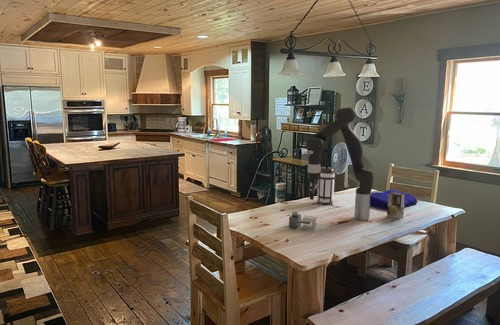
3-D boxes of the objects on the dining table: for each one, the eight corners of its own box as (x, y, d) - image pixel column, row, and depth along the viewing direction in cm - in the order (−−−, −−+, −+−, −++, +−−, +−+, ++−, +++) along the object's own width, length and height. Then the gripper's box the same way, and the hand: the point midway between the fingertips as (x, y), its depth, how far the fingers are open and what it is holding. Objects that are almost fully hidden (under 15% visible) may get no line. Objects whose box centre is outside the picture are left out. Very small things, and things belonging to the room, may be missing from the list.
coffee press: (310, 201, 288) (311, 163, 283) (327, 199, 294) (329, 162, 290) (323, 207, 273) (324, 167, 268) (341, 205, 279) (343, 165, 274)
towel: (418, 204, 286) (419, 193, 284) (392, 212, 264) (393, 200, 262) (386, 197, 306) (387, 186, 305) (360, 204, 284) (361, 193, 282)
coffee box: (403, 217, 252) (405, 193, 250) (400, 219, 248) (401, 195, 245) (390, 214, 259) (392, 191, 256) (386, 216, 254) (388, 193, 251)
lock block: (316, 228, 228) (316, 216, 226) (314, 231, 223) (314, 219, 222) (304, 227, 231) (305, 215, 229) (302, 229, 226) (302, 217, 225)
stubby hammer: (311, 227, 230) (312, 213, 229) (308, 231, 223) (308, 216, 222) (293, 224, 235) (293, 210, 234) (288, 228, 228) (289, 213, 226)
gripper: (317, 174, 215) (316, 201, 218) (323, 169, 228) (322, 195, 231) (304, 173, 218) (304, 200, 221) (311, 168, 231) (310, 194, 234)
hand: (313, 197), depth 226 cm, fingers open, 8 cm apart
